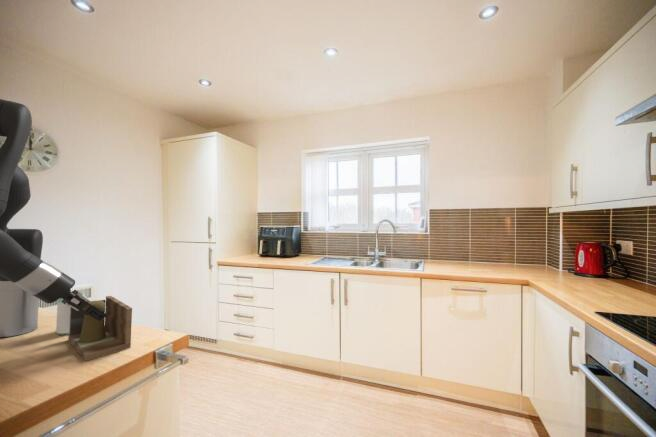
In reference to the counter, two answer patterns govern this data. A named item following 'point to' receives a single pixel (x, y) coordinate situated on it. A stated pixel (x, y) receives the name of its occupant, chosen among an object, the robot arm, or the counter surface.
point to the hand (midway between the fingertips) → (99, 314)
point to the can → (63, 317)
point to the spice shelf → (115, 329)
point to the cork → (93, 325)
